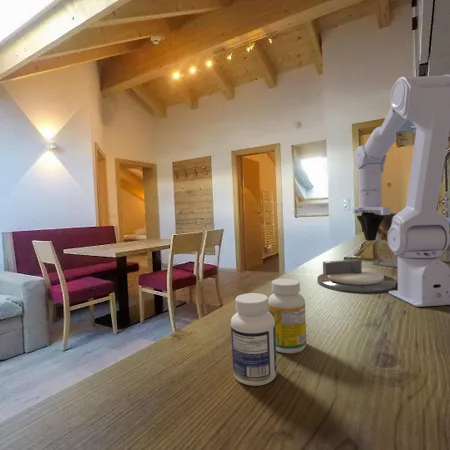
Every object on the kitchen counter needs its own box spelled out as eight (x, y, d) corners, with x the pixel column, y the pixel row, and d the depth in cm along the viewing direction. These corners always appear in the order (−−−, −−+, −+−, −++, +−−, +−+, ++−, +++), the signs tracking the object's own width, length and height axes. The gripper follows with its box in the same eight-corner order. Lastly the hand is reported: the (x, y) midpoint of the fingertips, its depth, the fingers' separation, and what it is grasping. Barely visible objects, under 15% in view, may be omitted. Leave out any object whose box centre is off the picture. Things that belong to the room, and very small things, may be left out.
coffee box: (411, 264, 96) (411, 212, 95) (402, 268, 92) (402, 213, 91) (380, 261, 103) (380, 212, 102) (371, 264, 99) (371, 214, 98)
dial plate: (413, 290, 70) (413, 285, 70) (334, 295, 69) (334, 290, 69) (370, 272, 88) (370, 268, 88) (308, 276, 87) (307, 272, 87)
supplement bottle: (310, 353, 43) (308, 285, 43) (271, 355, 43) (269, 287, 43) (301, 337, 49) (299, 276, 48) (266, 338, 49) (264, 277, 48)
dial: (364, 270, 86) (363, 254, 85) (396, 282, 73) (396, 263, 72) (313, 274, 84) (313, 257, 83) (337, 287, 71) (337, 267, 71)
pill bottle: (249, 359, 42) (246, 289, 42) (284, 371, 39) (282, 295, 38) (224, 377, 38) (220, 299, 38) (261, 393, 35) (258, 307, 34)
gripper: (343, 192, 92) (343, 238, 93) (371, 190, 78) (372, 244, 79) (365, 191, 93) (366, 237, 94) (398, 189, 79) (398, 242, 79)
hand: (370, 240), depth 86 cm, fingers closed
